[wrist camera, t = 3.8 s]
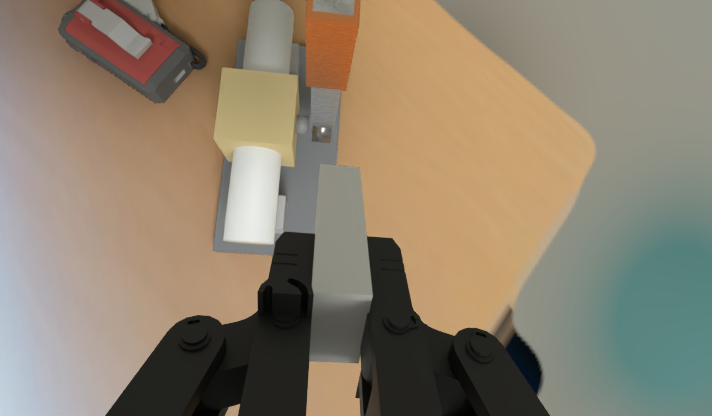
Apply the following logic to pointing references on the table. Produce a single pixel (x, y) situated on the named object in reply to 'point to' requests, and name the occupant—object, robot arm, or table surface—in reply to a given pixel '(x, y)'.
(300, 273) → the robot arm
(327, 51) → the valve lever
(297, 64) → the valve rig
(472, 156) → the table surface
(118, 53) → the walkie-talkie
